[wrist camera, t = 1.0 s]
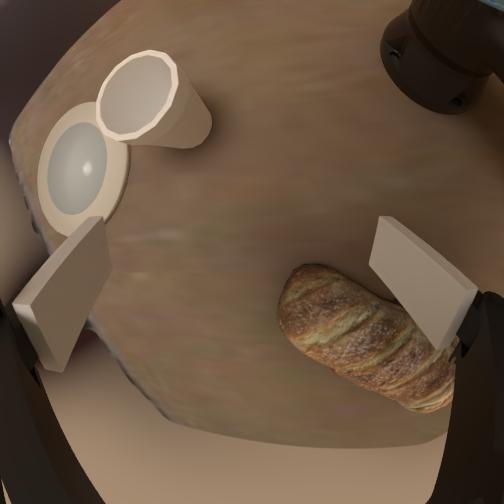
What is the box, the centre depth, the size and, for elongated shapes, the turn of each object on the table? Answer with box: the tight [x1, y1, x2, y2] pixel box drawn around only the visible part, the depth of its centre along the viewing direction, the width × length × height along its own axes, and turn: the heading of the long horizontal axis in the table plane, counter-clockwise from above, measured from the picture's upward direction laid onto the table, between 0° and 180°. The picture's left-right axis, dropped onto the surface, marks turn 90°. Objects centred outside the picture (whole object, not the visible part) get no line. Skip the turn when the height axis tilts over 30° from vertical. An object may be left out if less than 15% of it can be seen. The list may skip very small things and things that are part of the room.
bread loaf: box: [277, 264, 456, 413], centre depth 30 cm, size 35×18×9 cm, turn 70°
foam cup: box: [96, 50, 212, 149], centre depth 28 cm, size 10×9×13 cm
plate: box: [37, 102, 130, 236], centre depth 38 cm, size 22×22×1 cm
